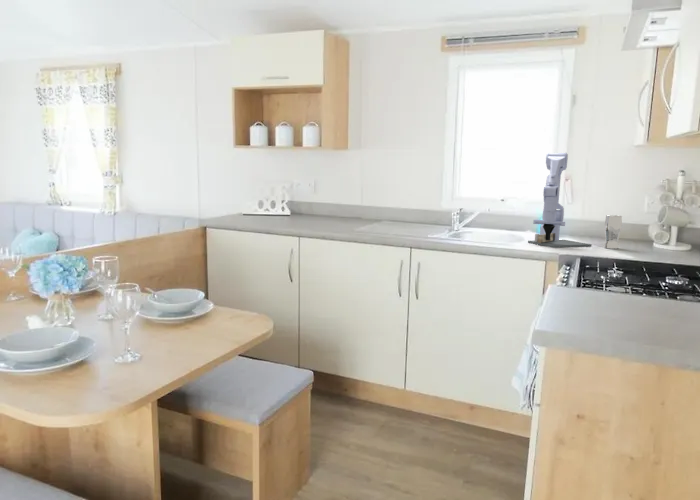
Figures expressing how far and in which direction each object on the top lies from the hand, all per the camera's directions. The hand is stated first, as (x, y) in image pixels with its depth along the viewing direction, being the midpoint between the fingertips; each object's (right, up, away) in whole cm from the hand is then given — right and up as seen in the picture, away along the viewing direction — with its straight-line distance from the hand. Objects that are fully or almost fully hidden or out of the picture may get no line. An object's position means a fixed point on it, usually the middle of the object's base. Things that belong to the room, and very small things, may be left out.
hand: (547, 240), depth 262 cm
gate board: (+6, -2, +2) cm, 7 cm away
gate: (0, -1, +3) cm, 3 cm away
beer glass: (+27, -4, -7) cm, 28 cm away
